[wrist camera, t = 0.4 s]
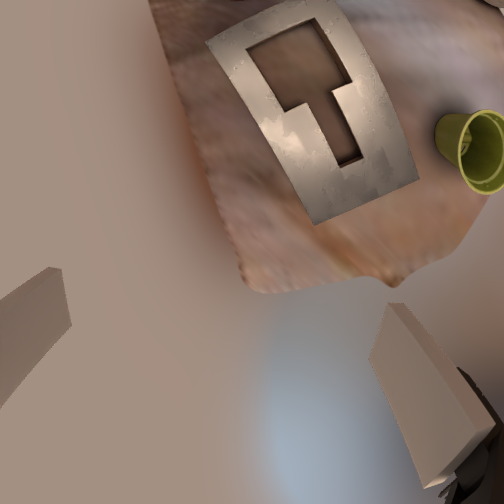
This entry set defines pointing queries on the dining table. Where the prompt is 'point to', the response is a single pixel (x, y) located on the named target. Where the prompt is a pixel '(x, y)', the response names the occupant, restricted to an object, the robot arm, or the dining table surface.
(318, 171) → the slot bracket
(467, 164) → the plant pot
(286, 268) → the dining table surface
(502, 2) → the teacup
